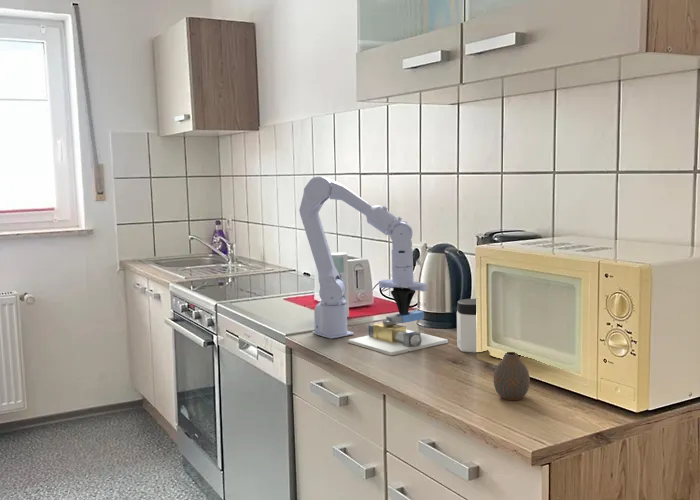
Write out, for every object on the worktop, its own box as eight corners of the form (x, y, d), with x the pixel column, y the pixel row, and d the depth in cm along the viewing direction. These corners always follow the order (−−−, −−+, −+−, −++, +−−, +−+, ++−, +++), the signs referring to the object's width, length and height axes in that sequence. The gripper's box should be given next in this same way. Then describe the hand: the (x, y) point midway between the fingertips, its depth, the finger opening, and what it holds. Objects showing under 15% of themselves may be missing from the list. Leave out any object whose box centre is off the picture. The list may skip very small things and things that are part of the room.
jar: (472, 355, 168) (472, 306, 166) (450, 348, 174) (449, 301, 173) (499, 349, 172) (499, 301, 171) (476, 342, 179) (475, 297, 178)
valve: (366, 335, 187) (366, 322, 187) (380, 333, 190) (379, 319, 190) (410, 348, 173) (409, 333, 172) (424, 344, 176) (424, 330, 175)
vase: (507, 405, 131) (507, 359, 130) (486, 395, 137) (486, 351, 136) (537, 399, 134) (537, 355, 133) (515, 389, 140) (515, 347, 139)
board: (348, 342, 184) (348, 339, 184) (402, 331, 195) (402, 328, 195) (391, 355, 169) (391, 352, 169) (447, 342, 180) (447, 339, 180)
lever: (388, 326, 180) (388, 318, 180) (380, 324, 183) (380, 316, 183) (424, 319, 188) (424, 311, 187) (416, 317, 190) (416, 310, 190)
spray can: (352, 315, 219) (350, 252, 217) (344, 319, 213) (342, 255, 211) (333, 314, 222) (331, 252, 219) (325, 318, 216) (323, 254, 213)
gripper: (372, 266, 190) (373, 315, 191) (417, 269, 181) (418, 320, 183) (386, 263, 196) (387, 310, 197) (431, 266, 187) (432, 315, 188)
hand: (403, 315), depth 190 cm, fingers closed
